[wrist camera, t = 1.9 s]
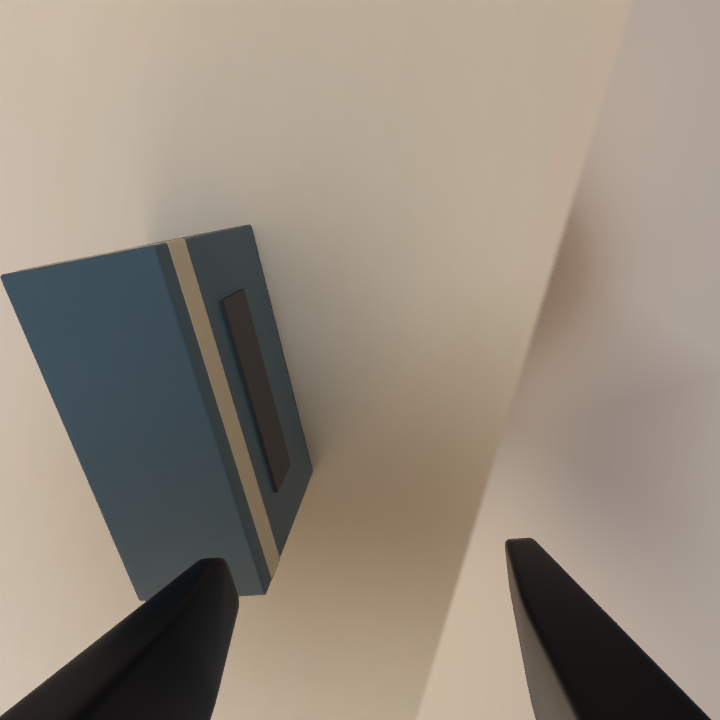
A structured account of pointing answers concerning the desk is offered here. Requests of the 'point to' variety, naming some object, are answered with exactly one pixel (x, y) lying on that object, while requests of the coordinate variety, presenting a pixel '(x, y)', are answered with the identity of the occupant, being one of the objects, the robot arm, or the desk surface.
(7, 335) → the desk surface
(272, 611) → the desk surface
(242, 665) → the desk surface
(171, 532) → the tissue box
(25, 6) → the desk surface
